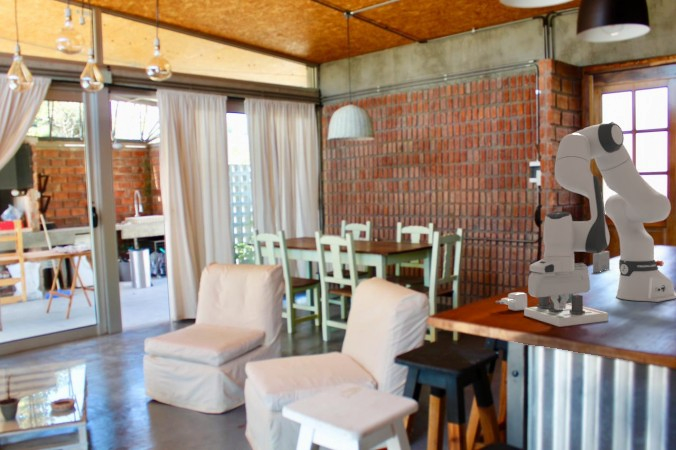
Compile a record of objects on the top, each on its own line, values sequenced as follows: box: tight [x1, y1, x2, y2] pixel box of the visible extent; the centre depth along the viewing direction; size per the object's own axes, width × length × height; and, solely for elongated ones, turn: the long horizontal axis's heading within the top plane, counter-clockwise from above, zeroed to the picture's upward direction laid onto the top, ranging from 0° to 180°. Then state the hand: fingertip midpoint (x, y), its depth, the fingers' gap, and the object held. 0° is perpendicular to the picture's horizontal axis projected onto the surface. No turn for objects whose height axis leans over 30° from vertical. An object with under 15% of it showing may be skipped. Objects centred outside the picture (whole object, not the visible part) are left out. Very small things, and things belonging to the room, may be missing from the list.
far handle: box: [536, 296, 550, 309], centre depth 194 cm, size 3×3×6 cm
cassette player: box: [592, 250, 611, 273], centre depth 288 cm, size 16×3×10 cm, turn 138°
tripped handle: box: [570, 294, 585, 315], centre depth 183 cm, size 3×3×6 cm
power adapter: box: [495, 291, 528, 311], centre depth 204 cm, size 11×5×6 cm, turn 111°
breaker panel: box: [523, 302, 609, 327], centre depth 189 cm, size 18×18×3 cm
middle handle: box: [548, 295, 563, 312], centre depth 188 cm, size 3×3×6 cm
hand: (559, 309), depth 181 cm, fingers closed
